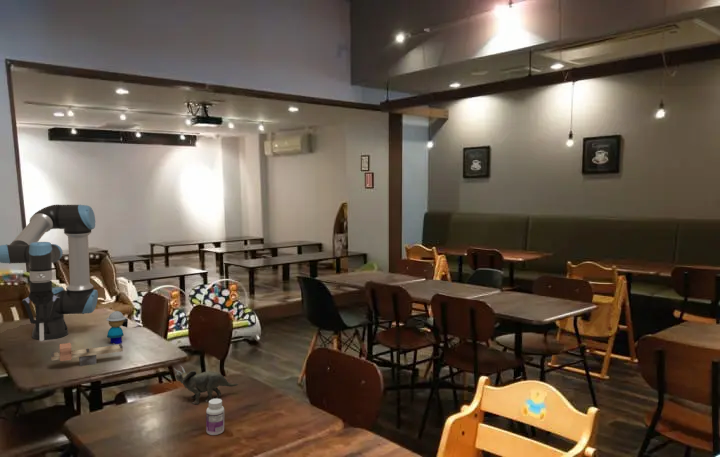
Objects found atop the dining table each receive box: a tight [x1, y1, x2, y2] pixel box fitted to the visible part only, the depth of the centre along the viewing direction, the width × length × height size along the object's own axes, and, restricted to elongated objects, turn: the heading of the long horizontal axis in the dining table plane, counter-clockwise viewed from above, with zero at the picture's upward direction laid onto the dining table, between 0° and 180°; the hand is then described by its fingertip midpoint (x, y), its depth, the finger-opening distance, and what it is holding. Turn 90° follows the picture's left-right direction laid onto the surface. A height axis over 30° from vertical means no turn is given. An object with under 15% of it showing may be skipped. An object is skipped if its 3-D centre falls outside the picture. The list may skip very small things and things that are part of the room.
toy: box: [105, 310, 129, 345], centre depth 243 cm, size 8×9×15 cm
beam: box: [50, 343, 124, 367], centre depth 213 cm, size 26×5×6 cm, turn 122°
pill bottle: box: [205, 398, 225, 436], centre depth 157 cm, size 5×5×10 cm
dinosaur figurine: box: [174, 365, 239, 405], centre depth 180 cm, size 22×8×11 cm, turn 100°
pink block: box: [59, 342, 73, 362], centre depth 209 cm, size 4×7×5 cm, turn 31°
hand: (41, 339), depth 204 cm, fingers closed
